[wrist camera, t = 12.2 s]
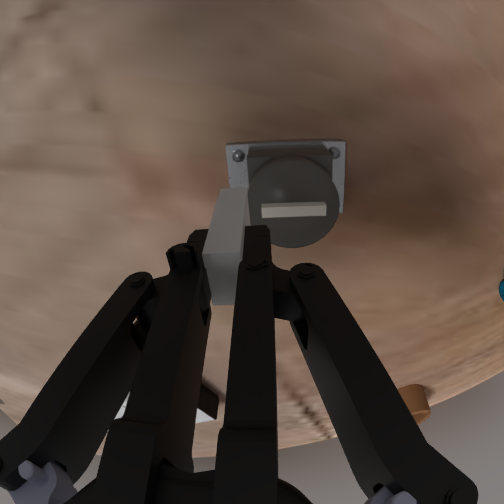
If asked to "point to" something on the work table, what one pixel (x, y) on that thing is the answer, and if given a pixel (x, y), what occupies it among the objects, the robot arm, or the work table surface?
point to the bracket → (416, 402)
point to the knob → (292, 192)
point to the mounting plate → (240, 150)
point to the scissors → (501, 290)
